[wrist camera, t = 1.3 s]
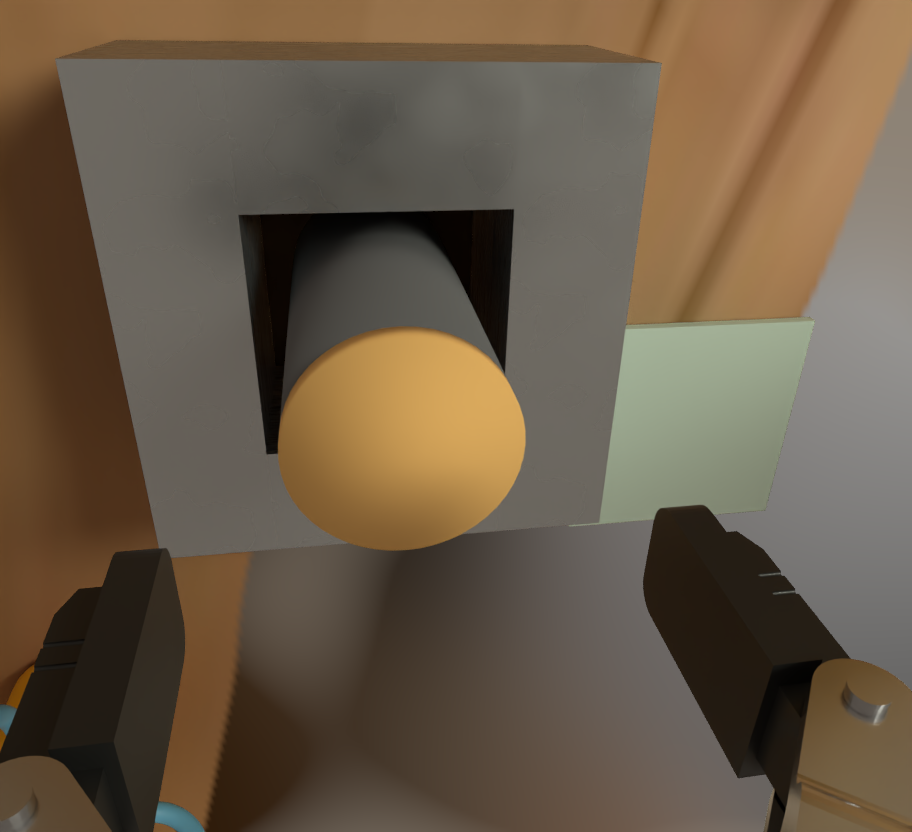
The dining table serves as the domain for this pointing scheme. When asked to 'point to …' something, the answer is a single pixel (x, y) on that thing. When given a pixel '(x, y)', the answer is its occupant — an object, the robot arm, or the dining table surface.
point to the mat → (701, 415)
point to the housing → (344, 191)
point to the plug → (391, 388)
